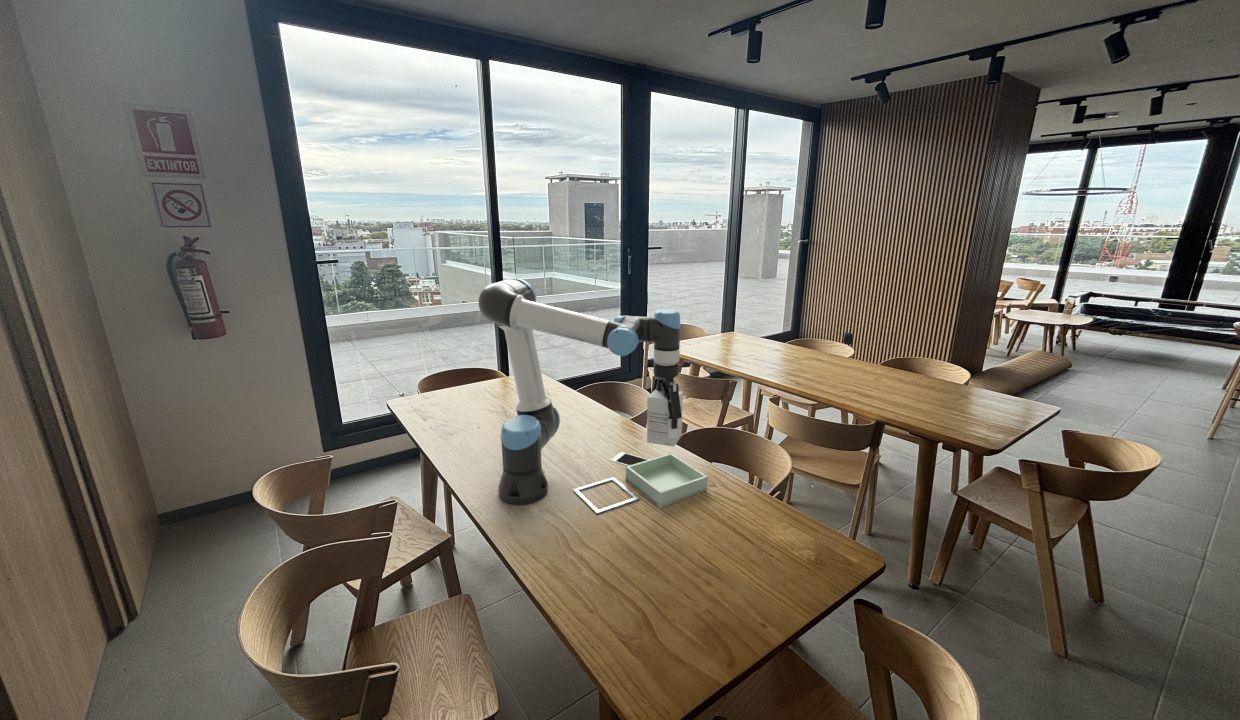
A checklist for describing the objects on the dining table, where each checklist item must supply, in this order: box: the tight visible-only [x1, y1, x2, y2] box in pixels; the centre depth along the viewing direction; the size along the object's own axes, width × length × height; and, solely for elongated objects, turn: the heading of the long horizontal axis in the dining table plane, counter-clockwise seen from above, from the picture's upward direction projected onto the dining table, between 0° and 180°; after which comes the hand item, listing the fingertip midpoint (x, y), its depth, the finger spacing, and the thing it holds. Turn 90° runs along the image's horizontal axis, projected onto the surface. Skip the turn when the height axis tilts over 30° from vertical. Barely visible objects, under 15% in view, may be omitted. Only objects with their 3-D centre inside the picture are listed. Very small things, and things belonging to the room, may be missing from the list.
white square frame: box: [573, 476, 640, 515], centre depth 152 cm, size 15×15×1 cm
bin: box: [625, 452, 709, 509], centre depth 158 cm, size 19×19×5 cm
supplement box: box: [646, 388, 684, 448], centre depth 151 cm, size 9×9×15 cm
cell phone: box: [610, 451, 650, 467], centre depth 173 cm, size 8×16×1 cm, turn 60°
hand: (664, 429), depth 152 cm, fingers closed on supplement box, 12 cm apart
